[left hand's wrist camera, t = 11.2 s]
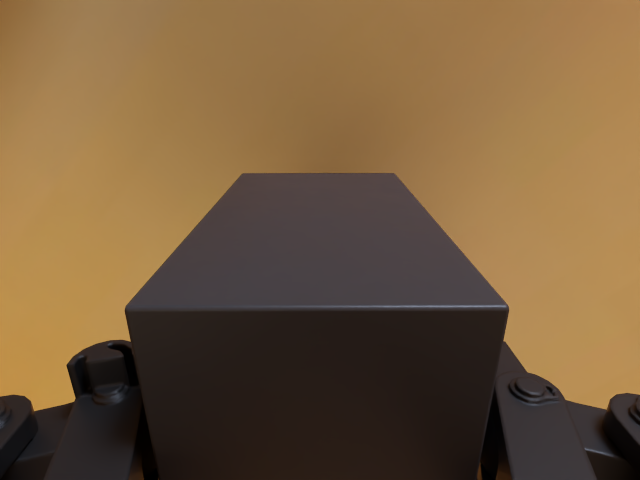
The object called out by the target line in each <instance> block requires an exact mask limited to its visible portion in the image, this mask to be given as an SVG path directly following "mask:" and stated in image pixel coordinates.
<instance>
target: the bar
mask: <svg viewBox="0 0 640 480" xmlns="http://www.w3.org/2000/svg"><path fill="white" fill-rule="evenodd" d="M508 313H509V307H508V305H507V304H506V303H505V301H504V300H503V299H502V298H501V297H500V296H499V294H498V293H497V292H496V291H495V290H494V289H493V287H492V286H491V285H490V284H489V283H488V282H487V280H486V279H485V278H484V277H483V276H482V275H481V273H480V272H479V271H478V270H477V269H476V268H475V266H474V265H473V264H472V263H471V262H470V261H469V260H468V258H467V257H466V256H465V255H464V254H463V253H462V251H461V250H460V249H459V248H458V247H457V246H456V244H455V243H454V242H453V241H452V240H451V239H450V237H449V236H448V235H447V234H446V233H445V232H444V230H443V229H442V228H441V227H440V226H439V225H438V223H437V222H436V221H435V220H434V219H433V218H432V216H431V215H430V214H429V213H428V212H427V211H426V210H425V208H424V207H423V206H422V205H421V204H420V203H419V201H418V200H417V199H416V198H415V197H414V196H413V194H412V193H411V192H410V191H409V190H408V189H407V187H406V186H405V185H404V184H403V183H402V182H401V180H400V179H399V178H398V177H397V176H396V175H395V174H394V173H243V174H242V175H241V176H240V177H239V178H238V179H237V180H236V181H235V183H234V184H233V185H232V186H231V187H230V188H229V189H228V191H227V192H226V193H225V194H224V195H223V196H222V197H221V198H220V200H219V201H218V202H217V203H216V204H215V205H214V206H213V208H212V209H211V210H210V211H209V212H208V213H207V214H206V216H205V217H204V218H203V219H202V220H201V221H200V222H199V223H198V225H197V226H196V227H195V228H194V229H193V230H192V231H191V233H190V234H189V235H188V236H187V237H186V238H185V239H184V241H183V242H182V243H181V244H180V245H179V246H178V247H177V248H176V250H175V251H174V252H173V253H172V254H171V255H170V256H169V258H168V259H167V260H166V261H165V262H164V263H163V264H162V266H161V267H160V268H159V269H158V270H157V271H156V272H155V273H154V275H153V276H152V277H151V278H150V279H149V280H148V281H147V283H146V284H145V285H144V286H143V287H142V288H141V289H140V291H139V292H138V293H137V294H136V295H135V296H134V297H133V298H132V300H131V301H130V302H129V303H128V304H127V305H126V307H125V315H126V320H127V324H128V329H129V334H130V339H131V344H132V349H133V354H134V359H135V364H136V369H137V374H138V379H139V384H140V389H141V394H142V399H143V404H144V408H145V413H146V418H147V423H148V428H149V433H150V438H151V443H152V448H153V453H154V458H155V463H156V468H157V473H158V478H159V480H476V478H477V473H478V468H479V463H480V458H481V453H482V447H483V442H484V437H485V432H486V427H487V422H488V416H489V411H490V406H491V401H492V396H493V391H494V386H495V380H496V375H497V370H498V365H499V360H500V355H501V349H502V344H503V339H504V334H505V329H506V324H507V318H508Z"/></svg>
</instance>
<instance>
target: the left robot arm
mask: <svg viewBox="0 0 640 480" xmlns="http://www.w3.org/2000/svg"><path fill="white" fill-rule="evenodd" d="M67 369H68V372H69V376H70V379H71V383H72V387H73V390H74V394H75V397H76V399H75V402H72V403H69V404H65V405H61V406H56V407H52V408H47V409H43V410H38V411H34V410H33V407H32V404H31V401H30V400H29V399H27V398H26V397H25V396H19V395H9V396H2V397H0V480H159V478H158V473H157V468H156V463H155V458H154V453H153V448H152V443H151V438H150V433H149V428H148V423H147V418H146V413H145V408H144V404H143V399H142V394H141V389H140V384H139V379H138V374H137V369H136V364H135V359H134V354H133V349H132V344H131V342H129V341H125V340H110V341H106V342H102V343H98V344H95V345H93V346H90V347H88V348H86V349H84V350H82V351H81V352H79V353H78V354H76V355H75V356H74V357H73V358H72V359H71V360H70V361H69V363H68V364H67ZM476 480H640V395H637V394H630V393H625V394H617V395H615V396H614V397H613V398H611V399H610V402H609V405H608V408H607V410H605V409H601V408H596V407H592V406H587V405H583V404H578V403H574V402H571V401H567V400H565V398H564V397H563V395H562V394H561V392H560V391H559V389H558V388H556V387H555V386H554V385H553V384H551V383H550V382H549V381H547V380H545V379H543V378H541V377H539V376H537V375H535V374H531V373H527V371H526V370H525V369H524V367H523V366H522V365H521V363H520V362H519V360H518V359H517V358H516V356H515V355H514V353H513V352H512V351H511V349H510V348H509V346H508V345H507V344H506V342H504V341H503V344H502V349H501V355H500V360H499V365H498V370H497V375H496V380H495V386H494V391H493V396H492V401H491V406H490V411H489V416H488V422H487V427H486V432H485V437H484V442H483V447H482V453H481V458H480V463H479V468H478V473H477V478H476Z"/></svg>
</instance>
